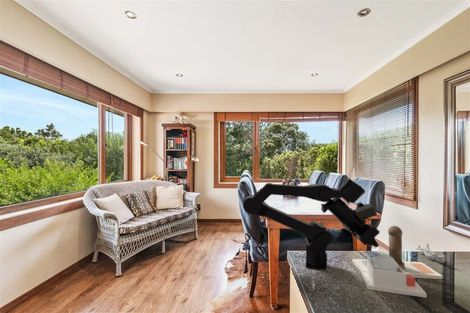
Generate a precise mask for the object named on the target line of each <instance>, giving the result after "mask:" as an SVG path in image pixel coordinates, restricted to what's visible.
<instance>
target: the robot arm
mask: <svg viewBox="0 0 470 313" xmlns="http://www.w3.org/2000/svg"><path fill="white" fill-rule="evenodd" d="M365 193H366V190H365V189H364V188H363V187H362V186H361V185H359V184H358V183H356V182H355V181H354V180H352V179H351V178H347V179H346V180H345V181H344V183H343V184H341V185H340V187H338V189H337V187H333V188H332V187H330V186H328V185H327V184H324V183H315V184H313V183H312V184H307V185H297V184H282V183H281V184H280V183H279V184H278V183H272V182H267V183H266V184H265V183H264V186H263V187H261V188H260V189H259V190H258V191H256V192H255V193H254V194H252V195H251V194H250V195H248V196H247V197H246V198H245V200H244V201H243V204H242V205H243V206H242V207H243V210H244V211H245V213H247V214H249V215H253V216H256V217H263V218H264V217H265V218H268V219H270V220H271V221H274V222H276V223H279V224H281V225H283V226H285V227H287V228H290V229H291V230H295V231H297V232H298V233H301V234H302V235H304V236H305V238H304V239H305V242H306V245H305V268H308V269H316V270H322V271H323V270H324V271H325V270H327V268H326V267H328V253H327V248H328V246H329V245H330V244H331V243H332V240H333V236H332V234H331V232H330V231H329V230H328V228H327V226H325V225H324V224H323V222H318V221H316V220H314V219H313V218H311V222H309V221H304V220H302V219H300V218H298V217H295V216H294V215H290V214H288V213H286V212H285V211H282V210H280V209H277V208H275V207H273V206H270V205H269V204H268V203H267V202H266V200H267V199H269V197H270V196H272V195H273V196H287V197H299V198H300V197H302V198H307V199H311V200H314V201H317V202H320V203H321V202H323V203H321V204H320V205H321V208H320V209H321V210H320V211H321V212H322V213H323V214H325V213H326V212H327V211H329V213H331V214H332V215H333V216H334V217H335V218H336V219H337V221H338V222H339V223H341V224H342V225H341V226H342V227H343V228H344V229H345V230H346V231H348V232H350V233H352V236H354V237H355V238H356V240H358V241H360V242H361V243H362V244H363V245H364V246H367V245H370V246H371V247H375V248H378V247H379V246H380V245H379V243H378V242H377V240H376V239H375V238H376V237H377V236H378V235H379V234H380V230H379V229H378V228H376V226H374V225H373V224H371V223H370V224H369V223H367V220H368V219H370V218H372V217H376V216H377V215H378V213H377V211H376V209H375V206H374V205H372V204H370V203H365V204H364V203H363V202H361V201H359V202H357V201H358V200H359V199H360V198H361V197H362V196H363V195H364V194H365ZM343 200H344V201H345V202H344V201H343ZM356 202H357V203H356ZM355 203H356V208H355V209H352V208H351V207H350V206H349V205H348V204H355Z"/></svg>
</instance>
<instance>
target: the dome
mask: <svg viewBox="0 0 470 313" xmlns="http://www.w3.org/2000/svg"><path fill="white" fill-rule="evenodd" d="M373 260H374V269H377V270H386V271H394V272H397V263H396V261H395V260H394V259H393V258H392V257H391V256H389V254H385V253H380V254H378V255H376V256H375V257H374V259H373Z"/></svg>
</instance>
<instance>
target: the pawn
mask: <svg viewBox="0 0 470 313" xmlns="http://www.w3.org/2000/svg"><path fill="white" fill-rule="evenodd" d="M387 233H388V255H389V256H391V257H392V258H393V259H394V260H395V261H396V262H397V264H398V265H399V266H400V267H401V268H402V269H404V268H405V263H404V262H405V261H404V262H402V261H403V241H402V240H403V238H402V237H403V230H402V228H400V227H399V226H396V225H392V226H390V227H388V230H387Z"/></svg>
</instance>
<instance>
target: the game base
mask: <svg viewBox="0 0 470 313" xmlns="http://www.w3.org/2000/svg"><path fill="white" fill-rule="evenodd" d="M366 260H367V272H361V276H362V279H363V281H364V283H365V286H366V288H367V289H368V290H370V291H371V290H372V291H379V292H386V293H390V294H392V293H393V294H398V295H399V294H400V295H406V296H413V297H421V298H428V296H427V295H428V294H427V293H426V291H425V290H424V289H423V287H421V286H420V284H418V282H417V281H416V278H414V277H413V276H412V275H406V273H405V272H404V271H403V269H402V268H401V267H400V266H399V265H398V264H397V272H394V271H386V270H377V269H374V259H372V258H366ZM396 263H397V262H396Z"/></svg>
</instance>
